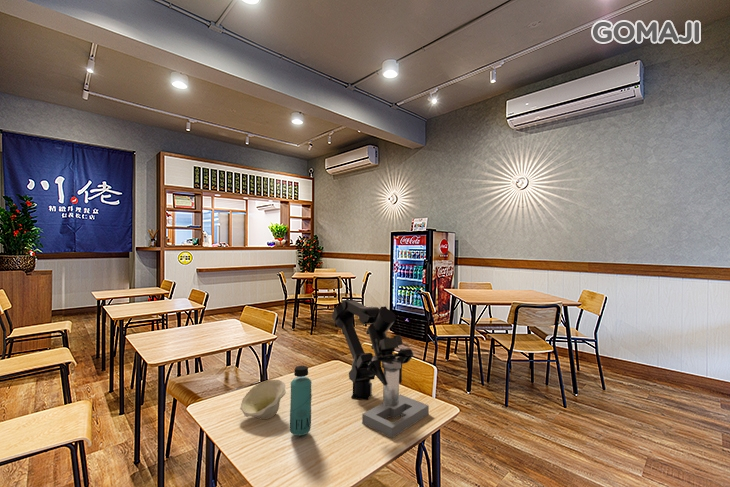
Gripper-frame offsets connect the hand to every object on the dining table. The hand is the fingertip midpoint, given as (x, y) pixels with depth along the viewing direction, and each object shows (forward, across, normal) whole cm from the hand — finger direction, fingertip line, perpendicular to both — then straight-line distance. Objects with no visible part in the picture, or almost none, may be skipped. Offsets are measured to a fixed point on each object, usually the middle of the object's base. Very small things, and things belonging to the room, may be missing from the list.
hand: (393, 383), depth 104 cm
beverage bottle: (+6, -28, +14) cm, 32 cm away
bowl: (-5, -37, +24) cm, 45 cm away
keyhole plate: (+7, +4, +12) cm, 14 cm away
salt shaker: (+4, 0, +6) cm, 7 cm away
